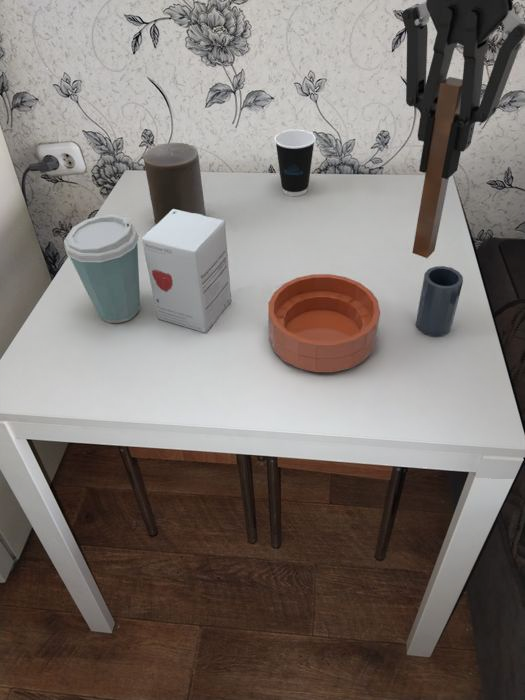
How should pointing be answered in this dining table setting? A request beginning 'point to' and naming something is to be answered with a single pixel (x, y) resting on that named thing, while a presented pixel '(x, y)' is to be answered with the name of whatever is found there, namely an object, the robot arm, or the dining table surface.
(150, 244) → the rectangular carton
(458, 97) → the stirring stick
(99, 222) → the disposable coffee cup
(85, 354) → the dining table surface
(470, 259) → the dining table surface
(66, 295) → the dining table surface
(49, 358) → the dining table surface
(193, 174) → the pillar candle
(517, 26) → the robot arm
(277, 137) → the dixie cup
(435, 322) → the gray pipe section
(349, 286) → the bowl
